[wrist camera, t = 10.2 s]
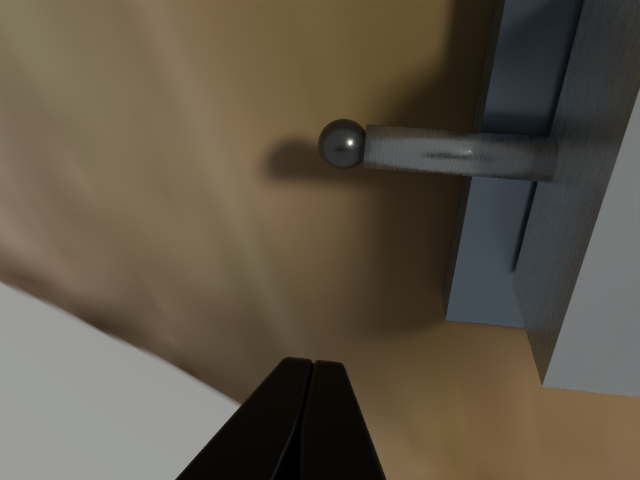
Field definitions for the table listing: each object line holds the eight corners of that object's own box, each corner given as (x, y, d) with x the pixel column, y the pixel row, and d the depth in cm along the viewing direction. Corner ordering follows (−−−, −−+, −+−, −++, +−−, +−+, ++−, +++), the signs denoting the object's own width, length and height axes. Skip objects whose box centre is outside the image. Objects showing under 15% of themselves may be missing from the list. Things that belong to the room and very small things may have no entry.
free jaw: (695, -22, 13) (817, 14, 9) (588, 288, 18) (641, 397, 14) (326, -39, 14) (299, -13, 10) (316, 263, 19) (295, 359, 15)
